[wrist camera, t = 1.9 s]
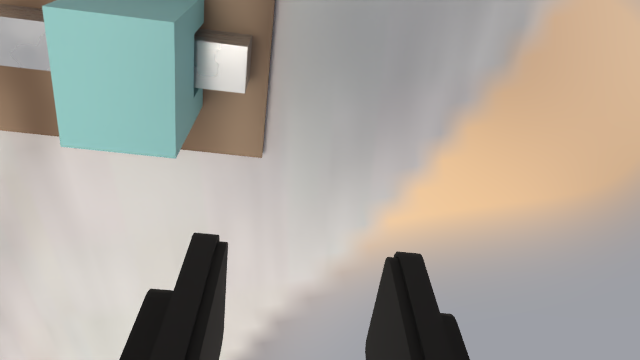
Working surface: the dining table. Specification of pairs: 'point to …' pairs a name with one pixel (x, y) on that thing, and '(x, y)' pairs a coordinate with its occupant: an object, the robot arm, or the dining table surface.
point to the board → (218, 106)
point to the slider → (124, 73)
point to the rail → (209, 50)
